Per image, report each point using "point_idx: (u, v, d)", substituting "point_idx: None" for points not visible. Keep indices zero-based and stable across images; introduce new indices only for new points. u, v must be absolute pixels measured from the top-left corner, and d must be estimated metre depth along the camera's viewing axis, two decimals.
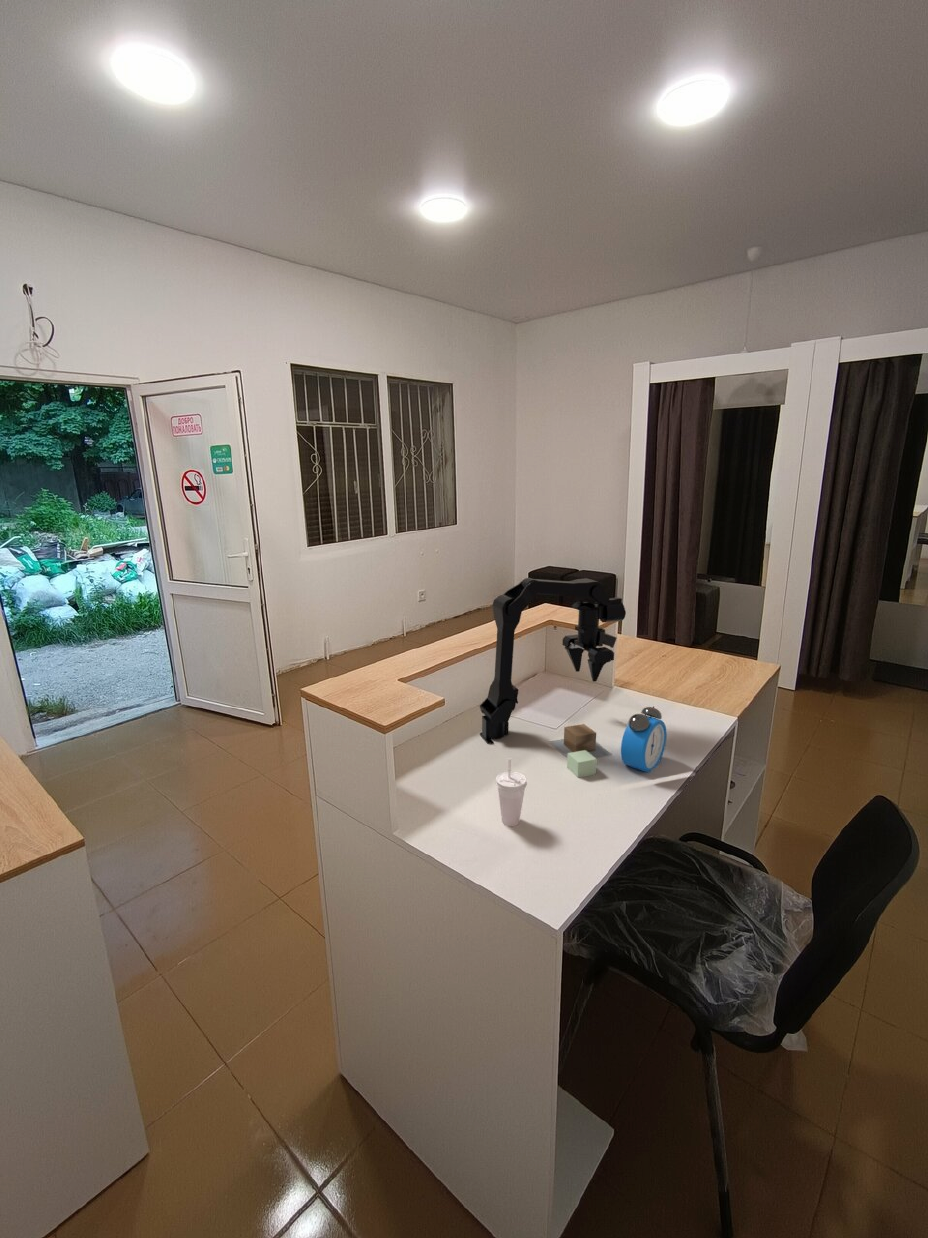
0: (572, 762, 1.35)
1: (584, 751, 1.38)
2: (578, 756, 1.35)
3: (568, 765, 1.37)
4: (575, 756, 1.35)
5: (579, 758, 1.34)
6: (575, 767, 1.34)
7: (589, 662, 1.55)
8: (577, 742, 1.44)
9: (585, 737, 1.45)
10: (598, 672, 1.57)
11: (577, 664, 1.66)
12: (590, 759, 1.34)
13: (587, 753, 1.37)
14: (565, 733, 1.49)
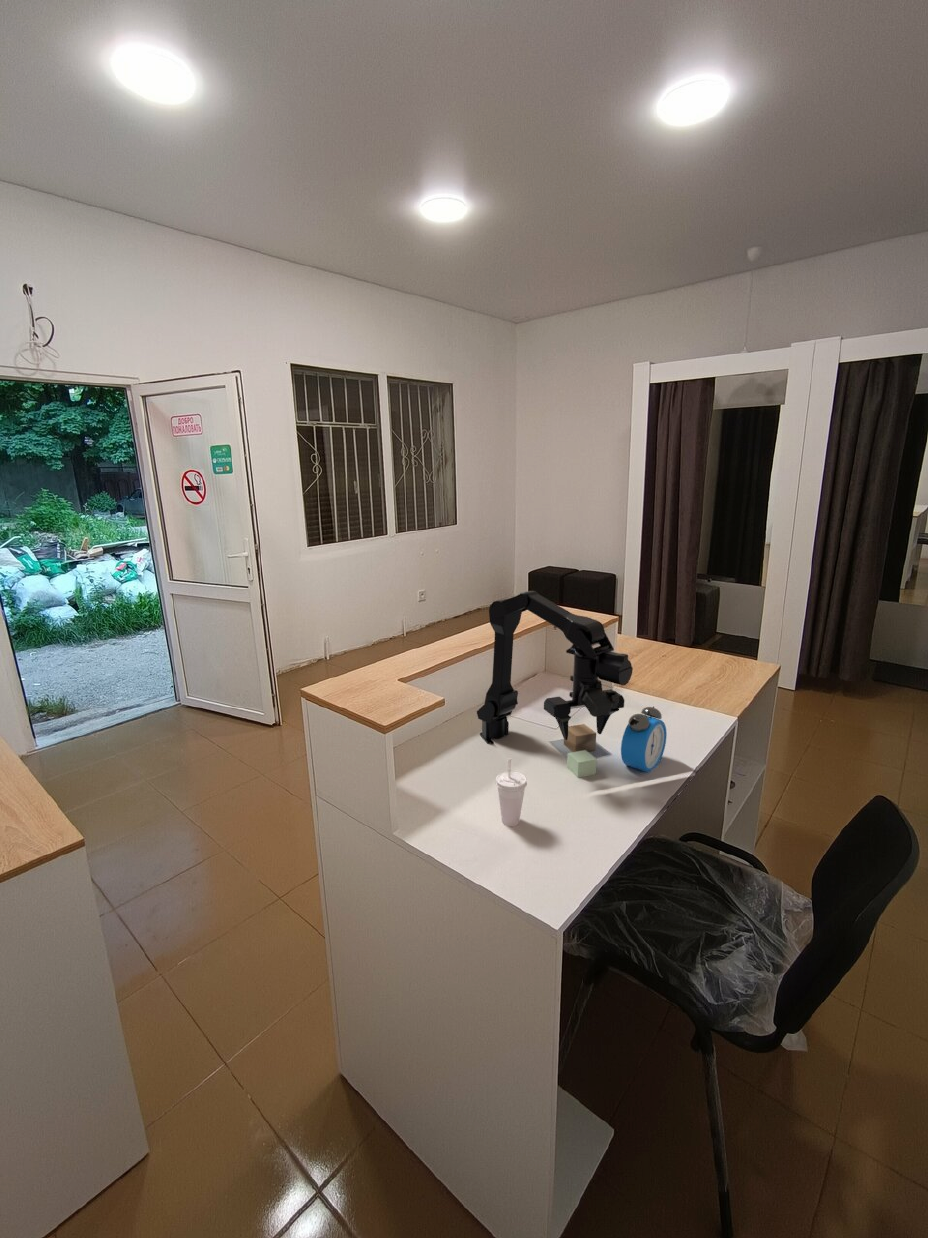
0: (572, 762, 1.35)
1: (584, 751, 1.38)
2: (578, 756, 1.35)
3: (568, 765, 1.37)
4: (575, 756, 1.35)
5: (579, 758, 1.34)
6: (575, 767, 1.34)
7: None
8: (577, 742, 1.44)
9: (585, 737, 1.45)
10: (563, 729, 1.31)
11: (598, 724, 1.36)
12: (590, 759, 1.34)
13: (587, 753, 1.37)
14: None
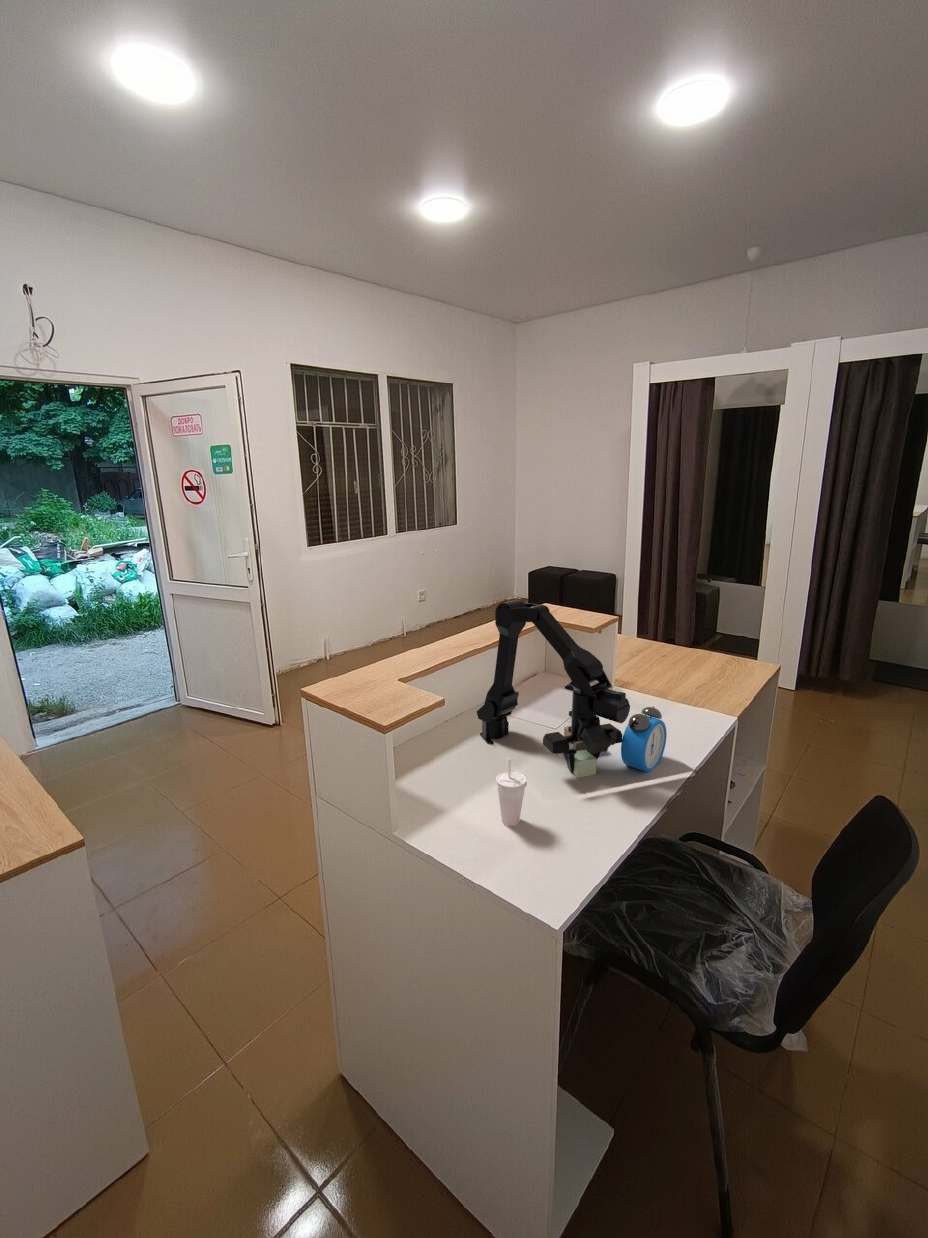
0: None
1: (584, 751, 1.38)
2: (578, 756, 1.35)
3: None
4: (575, 755, 1.35)
5: (579, 757, 1.34)
6: (575, 767, 1.34)
7: None
8: None
9: None
10: (569, 763, 1.34)
11: None
12: (590, 759, 1.34)
13: (587, 753, 1.37)
14: (565, 733, 1.49)
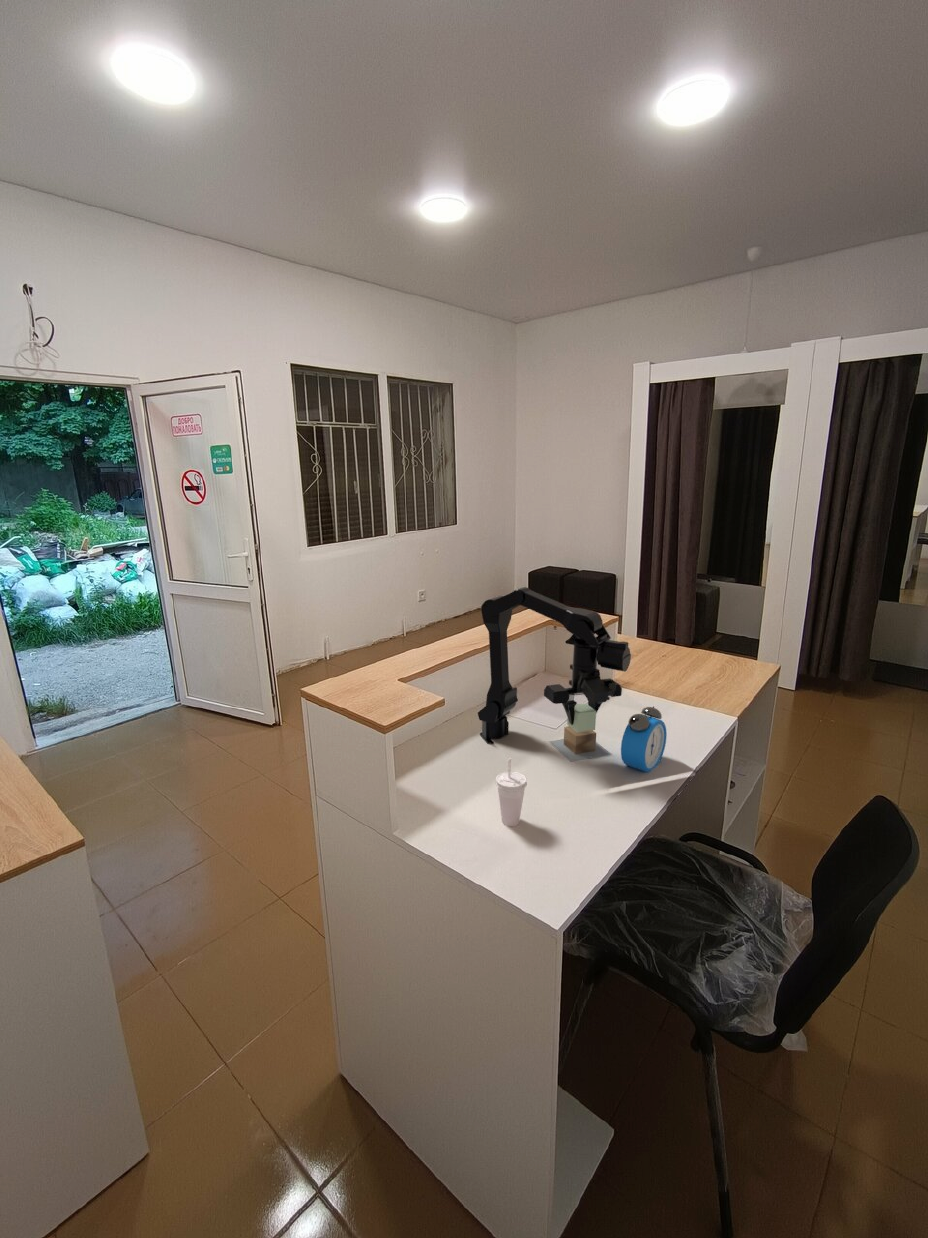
0: None
1: (584, 704, 1.41)
2: (578, 708, 1.39)
3: None
4: (575, 708, 1.39)
5: (579, 710, 1.38)
6: (575, 718, 1.38)
7: None
8: (577, 742, 1.44)
9: (585, 737, 1.45)
10: (569, 714, 1.38)
11: None
12: (590, 711, 1.38)
13: (587, 706, 1.40)
14: (565, 733, 1.49)
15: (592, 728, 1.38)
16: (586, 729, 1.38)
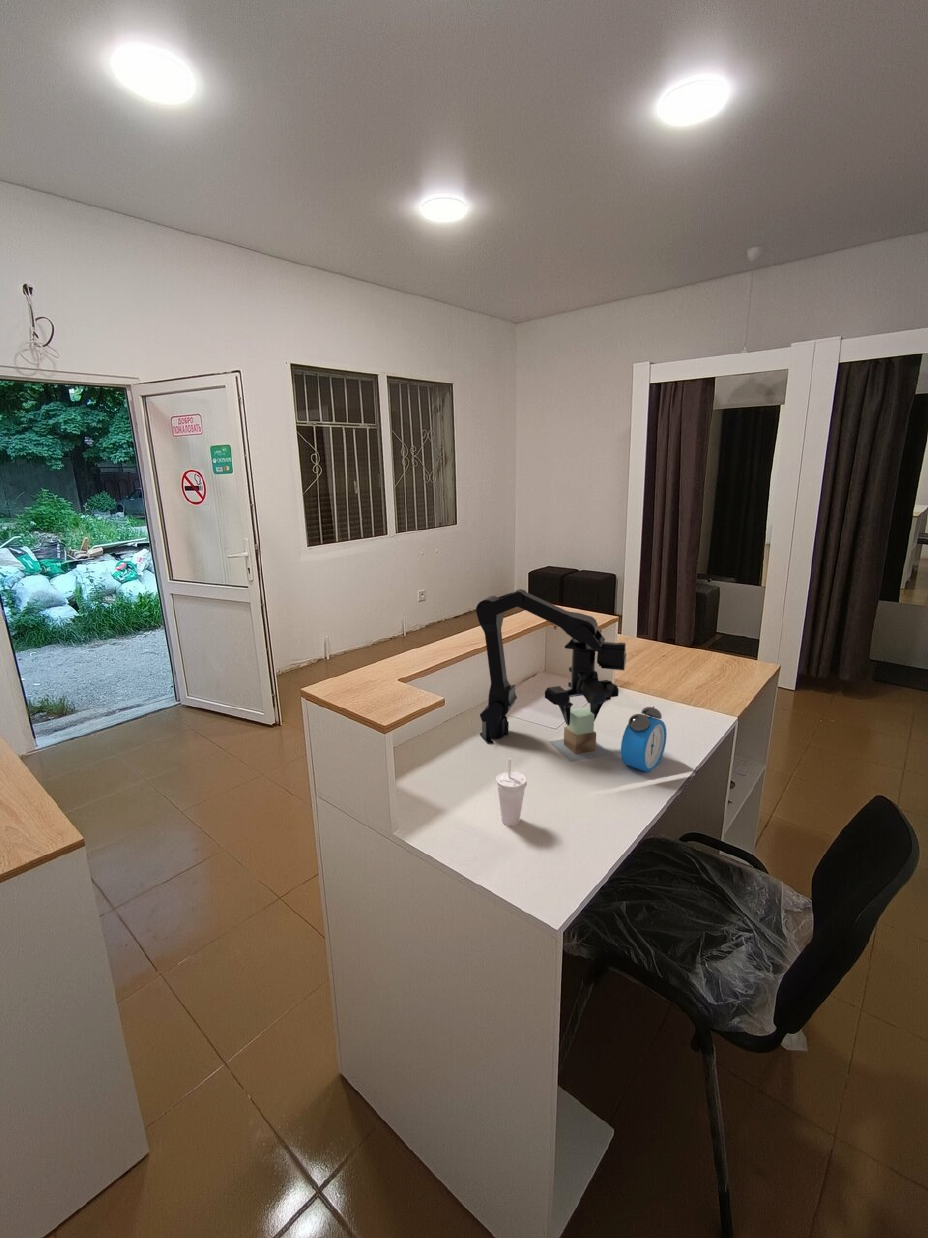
0: (572, 718, 1.45)
1: (583, 708, 1.48)
2: (577, 712, 1.46)
3: None
4: (574, 712, 1.46)
5: (578, 713, 1.45)
6: (574, 722, 1.44)
7: None
8: (577, 742, 1.44)
9: (585, 737, 1.45)
10: (565, 715, 1.44)
11: (592, 712, 1.48)
12: (588, 714, 1.44)
13: (586, 710, 1.47)
14: (565, 733, 1.49)
15: (590, 730, 1.45)
16: (585, 732, 1.45)
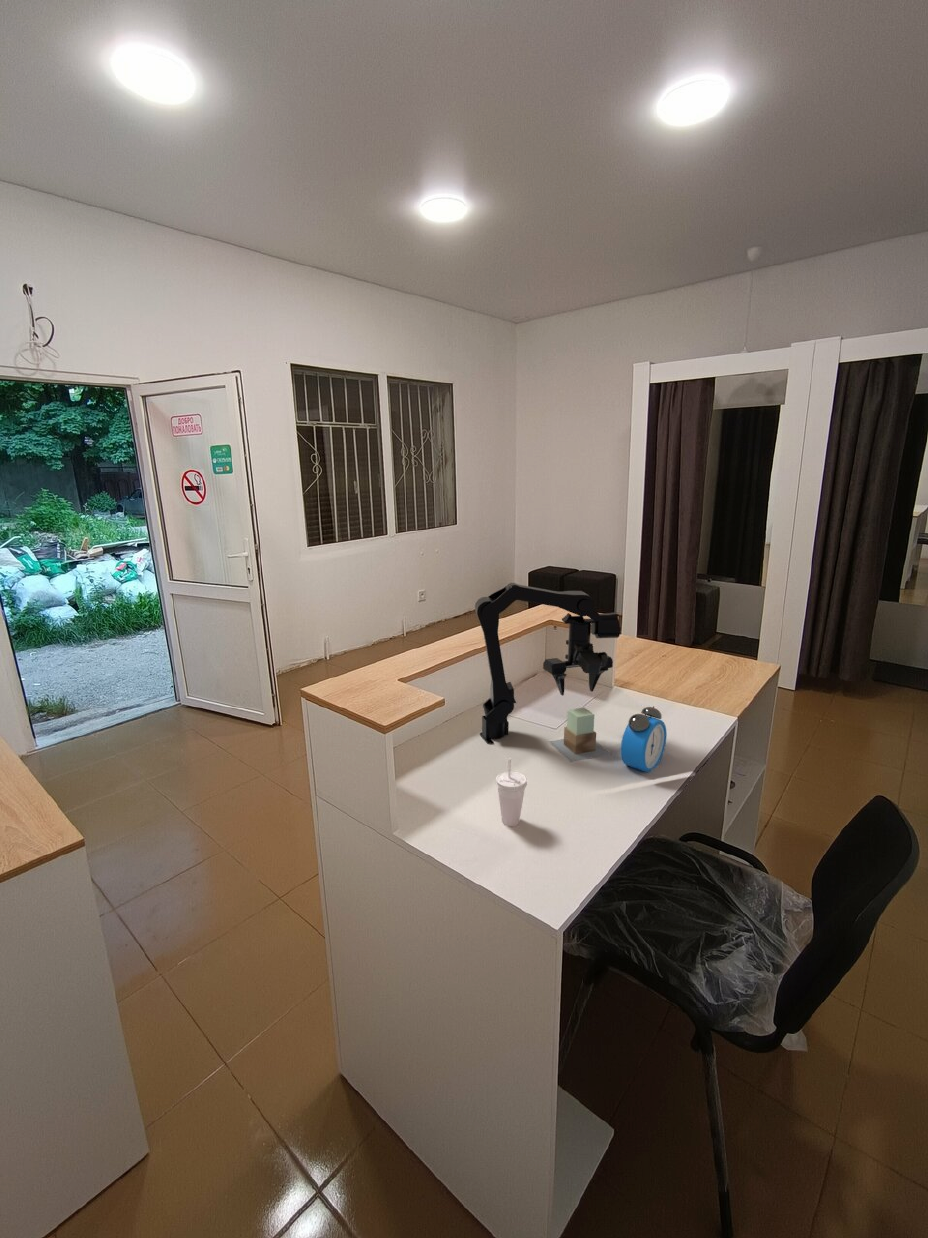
0: (572, 718, 1.45)
1: (583, 708, 1.48)
2: (577, 712, 1.46)
3: (568, 721, 1.48)
4: (574, 712, 1.46)
5: (578, 713, 1.45)
6: (574, 722, 1.44)
7: None
8: (577, 742, 1.44)
9: (585, 737, 1.45)
10: (559, 686, 1.52)
11: (591, 683, 1.56)
12: (588, 714, 1.44)
13: (586, 710, 1.47)
14: (565, 733, 1.49)
15: (590, 730, 1.45)
16: (585, 732, 1.45)
